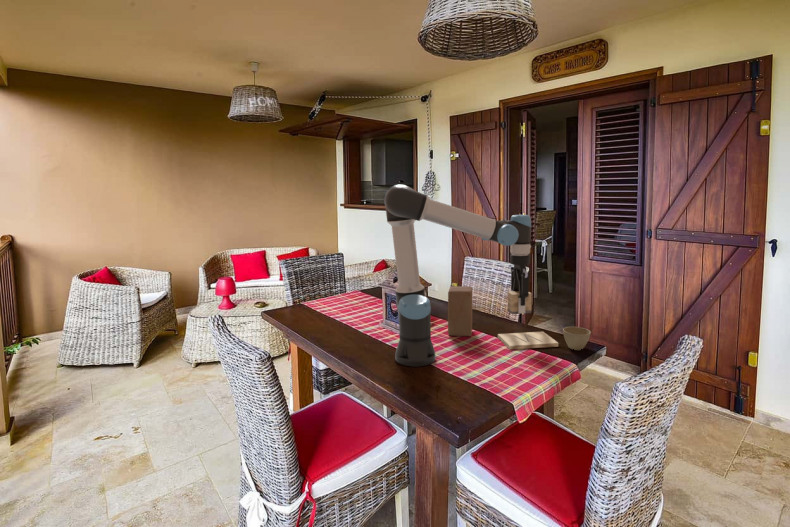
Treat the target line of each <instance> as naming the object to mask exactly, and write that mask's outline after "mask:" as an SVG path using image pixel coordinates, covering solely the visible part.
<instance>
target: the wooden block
mask: <svg viewBox="0 0 790 527" xmlns="http://www.w3.org/2000/svg"><path fill="white" fill-rule="evenodd" d="M447 334H448V336H453V337H454V336H455V337H471V336H472V335H473V287H472V286H462V285H460V286H459V285H458V286H457V285H456V286H455V285H454V286H453V285H452V286H449V289H448V291H447Z"/></svg>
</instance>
